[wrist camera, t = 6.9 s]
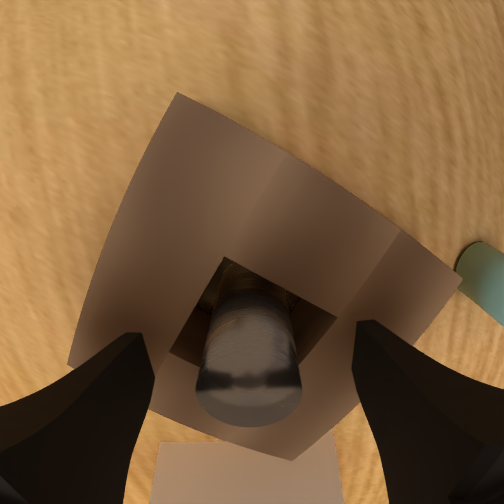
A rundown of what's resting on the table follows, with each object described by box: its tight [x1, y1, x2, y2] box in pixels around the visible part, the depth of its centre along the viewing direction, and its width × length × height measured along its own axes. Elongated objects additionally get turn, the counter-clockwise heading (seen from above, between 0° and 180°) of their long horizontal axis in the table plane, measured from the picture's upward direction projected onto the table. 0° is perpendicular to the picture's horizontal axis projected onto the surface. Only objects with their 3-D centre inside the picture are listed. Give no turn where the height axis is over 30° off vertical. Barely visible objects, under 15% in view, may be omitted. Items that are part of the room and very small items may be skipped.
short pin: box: [455, 242, 504, 327], centre depth 13 cm, size 3×3×4 cm
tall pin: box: [196, 262, 303, 427], centre depth 12 cm, size 3×3×7 cm
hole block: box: [67, 92, 463, 461], centre depth 13 cm, size 12×12×4 cm
